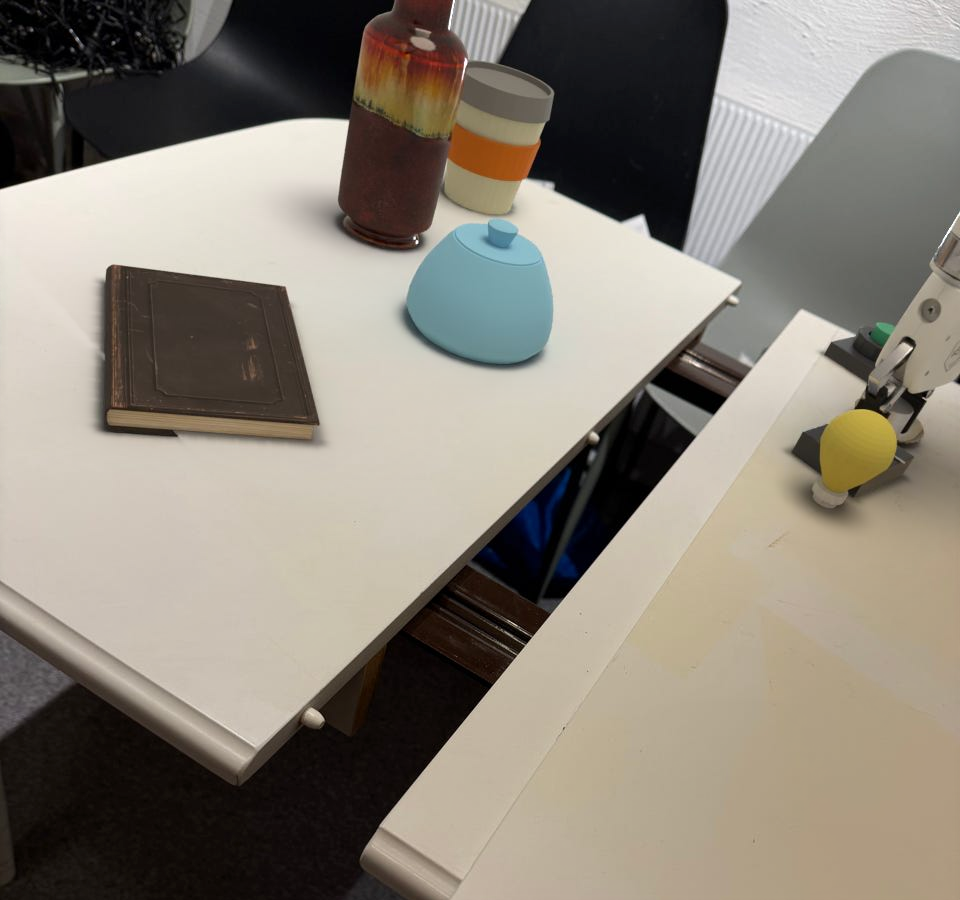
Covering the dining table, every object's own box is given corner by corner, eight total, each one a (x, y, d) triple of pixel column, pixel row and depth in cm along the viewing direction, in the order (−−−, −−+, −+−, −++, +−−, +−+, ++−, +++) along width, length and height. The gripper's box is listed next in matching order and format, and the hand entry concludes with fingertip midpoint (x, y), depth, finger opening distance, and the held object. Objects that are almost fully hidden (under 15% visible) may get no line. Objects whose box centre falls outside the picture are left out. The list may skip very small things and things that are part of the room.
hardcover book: (283, 308, 94) (285, 286, 92) (315, 446, 79) (319, 422, 77) (105, 287, 88) (105, 262, 87) (104, 431, 73) (104, 404, 71)
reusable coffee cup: (424, 174, 131) (449, 51, 121) (511, 192, 134) (543, 74, 124) (437, 212, 122) (466, 83, 112) (531, 231, 126) (567, 107, 116)
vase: (340, 205, 116) (381, -53, 98) (430, 230, 117) (486, -19, 100) (326, 240, 108) (368, -34, 90) (423, 266, 109) (482, 2, 92)
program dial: (863, 424, 102) (887, 384, 99) (897, 447, 100) (923, 407, 97) (841, 432, 99) (865, 390, 96) (876, 456, 97) (902, 415, 94)
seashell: (839, 441, 109) (913, 459, 106) (846, 417, 106) (921, 435, 103) (860, 405, 114) (930, 422, 111) (866, 382, 111) (938, 399, 108)
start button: (878, 333, 121) (885, 320, 120) (902, 348, 120) (909, 335, 118) (864, 337, 119) (871, 323, 118) (887, 352, 117) (895, 338, 116)
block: (862, 347, 126) (878, 319, 124) (912, 379, 123) (930, 351, 120) (822, 357, 120) (838, 328, 118) (874, 391, 117) (891, 361, 114)
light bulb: (863, 532, 92) (922, 443, 85) (799, 517, 90) (853, 426, 84) (843, 491, 97) (897, 404, 90) (782, 477, 95) (832, 388, 89)
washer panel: (842, 434, 106) (857, 409, 104) (907, 479, 102) (924, 454, 100) (786, 454, 99) (801, 428, 97) (853, 502, 95) (870, 476, 93)
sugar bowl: (571, 363, 101) (609, 256, 94) (461, 382, 92) (493, 265, 85) (484, 293, 108) (513, 188, 100) (374, 304, 99) (396, 190, 92)
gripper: (971, 294, 80) (860, 470, 92) (1051, 277, 91) (942, 437, 102) (897, 251, 83) (799, 427, 95) (982, 240, 94) (885, 400, 106)
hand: (874, 431), depth 99 cm, fingers open, 6 cm apart
